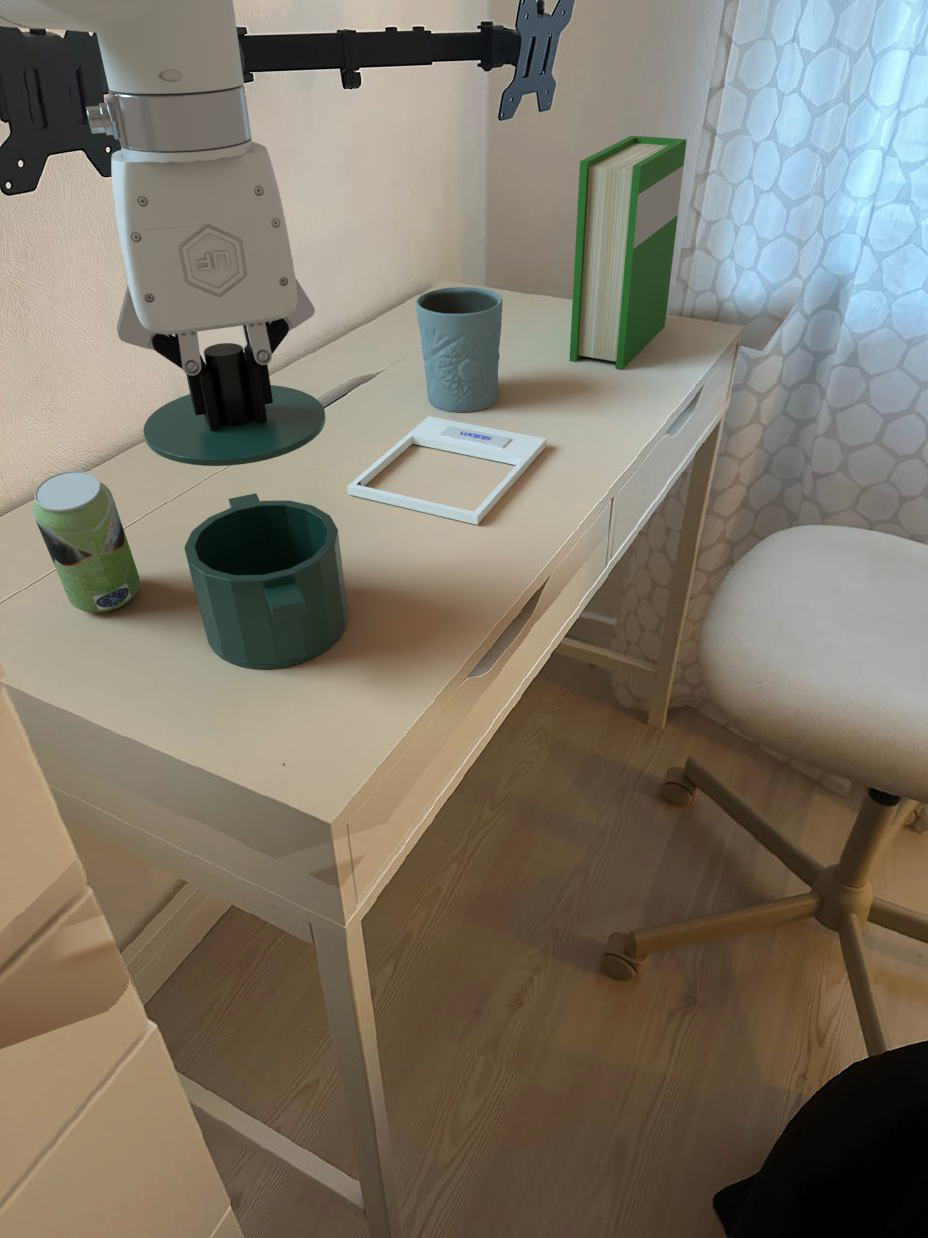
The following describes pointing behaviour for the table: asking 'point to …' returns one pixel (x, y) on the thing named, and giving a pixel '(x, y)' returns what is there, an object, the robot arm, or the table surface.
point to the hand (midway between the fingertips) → (235, 415)
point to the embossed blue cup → (460, 346)
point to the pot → (268, 582)
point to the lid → (233, 419)
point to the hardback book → (625, 246)
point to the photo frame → (456, 440)
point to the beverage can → (86, 541)
